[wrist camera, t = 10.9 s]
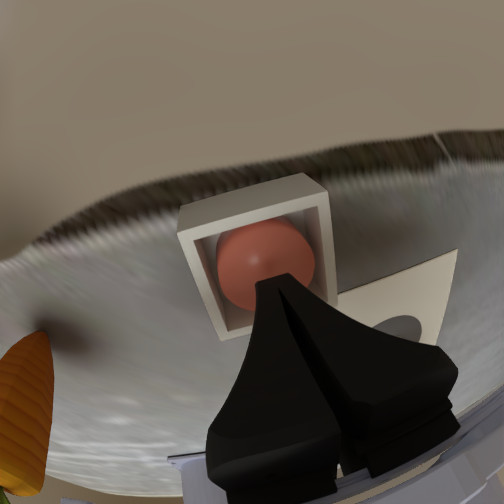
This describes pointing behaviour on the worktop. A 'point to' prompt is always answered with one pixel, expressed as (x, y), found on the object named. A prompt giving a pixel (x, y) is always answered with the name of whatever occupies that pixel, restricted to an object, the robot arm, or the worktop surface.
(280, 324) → the robot arm
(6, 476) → the carrot
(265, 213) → the button housing
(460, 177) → the worktop surface
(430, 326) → the paper sheet
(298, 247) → the button
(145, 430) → the worktop surface
